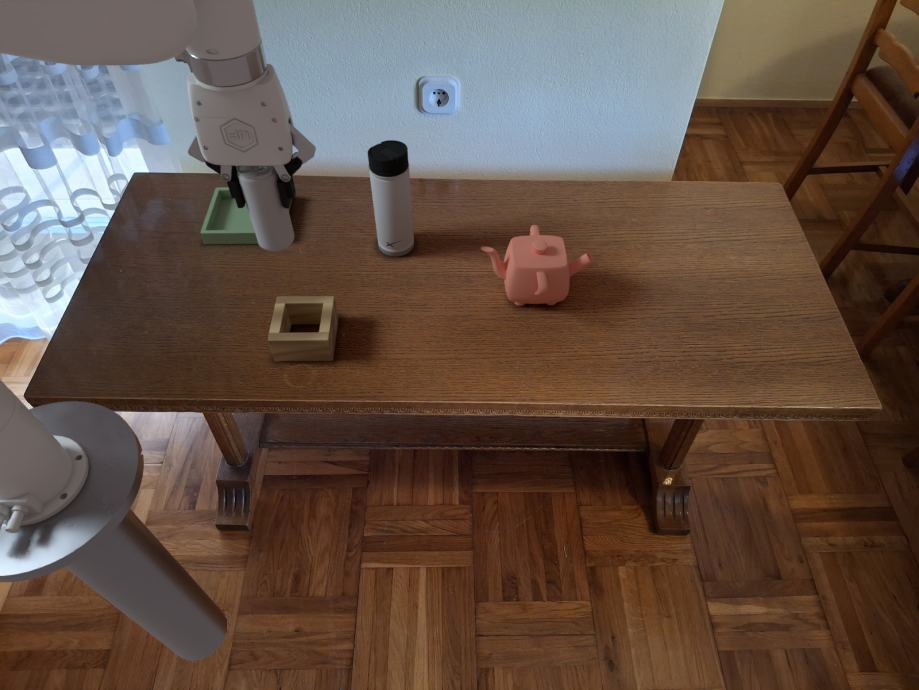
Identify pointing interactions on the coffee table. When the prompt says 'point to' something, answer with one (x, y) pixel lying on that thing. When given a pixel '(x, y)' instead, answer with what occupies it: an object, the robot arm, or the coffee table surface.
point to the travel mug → (391, 197)
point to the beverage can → (266, 207)
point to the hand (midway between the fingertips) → (265, 200)
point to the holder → (303, 344)
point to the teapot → (536, 268)
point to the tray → (227, 221)
